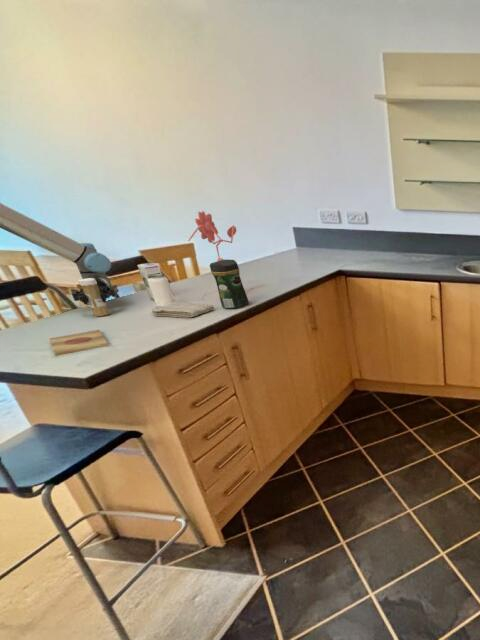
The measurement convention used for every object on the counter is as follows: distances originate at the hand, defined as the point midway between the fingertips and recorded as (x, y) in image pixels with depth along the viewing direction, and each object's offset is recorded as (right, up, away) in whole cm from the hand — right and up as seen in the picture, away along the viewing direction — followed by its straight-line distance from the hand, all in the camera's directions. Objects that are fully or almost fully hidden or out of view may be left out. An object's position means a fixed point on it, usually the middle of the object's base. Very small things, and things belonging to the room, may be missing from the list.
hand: (93, 299), depth 151 cm
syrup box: (-1, +6, +30) cm, 30 cm away
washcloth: (+24, -3, +11) cm, 27 cm away
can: (+10, +1, +20) cm, 22 cm away
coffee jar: (+38, +1, +21) cm, 43 cm away
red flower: (+23, +9, +36) cm, 44 cm away
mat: (+14, -18, -18) cm, 29 cm away
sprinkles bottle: (-4, -5, +7) cm, 9 cm away
